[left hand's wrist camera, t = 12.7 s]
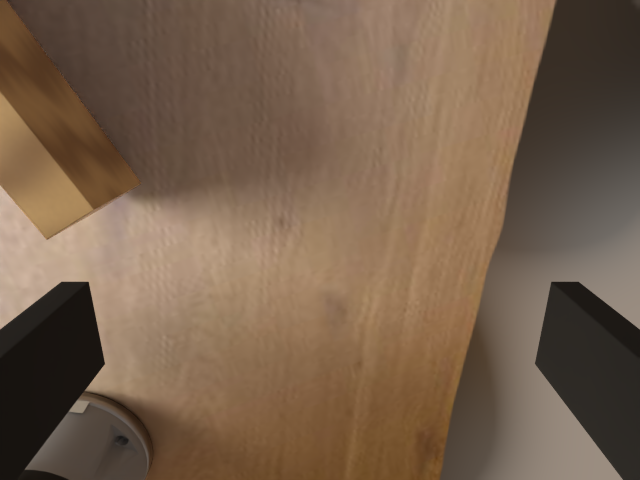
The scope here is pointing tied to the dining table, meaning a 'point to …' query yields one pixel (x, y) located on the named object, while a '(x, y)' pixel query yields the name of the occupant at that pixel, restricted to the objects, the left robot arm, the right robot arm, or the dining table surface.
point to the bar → (50, 138)
